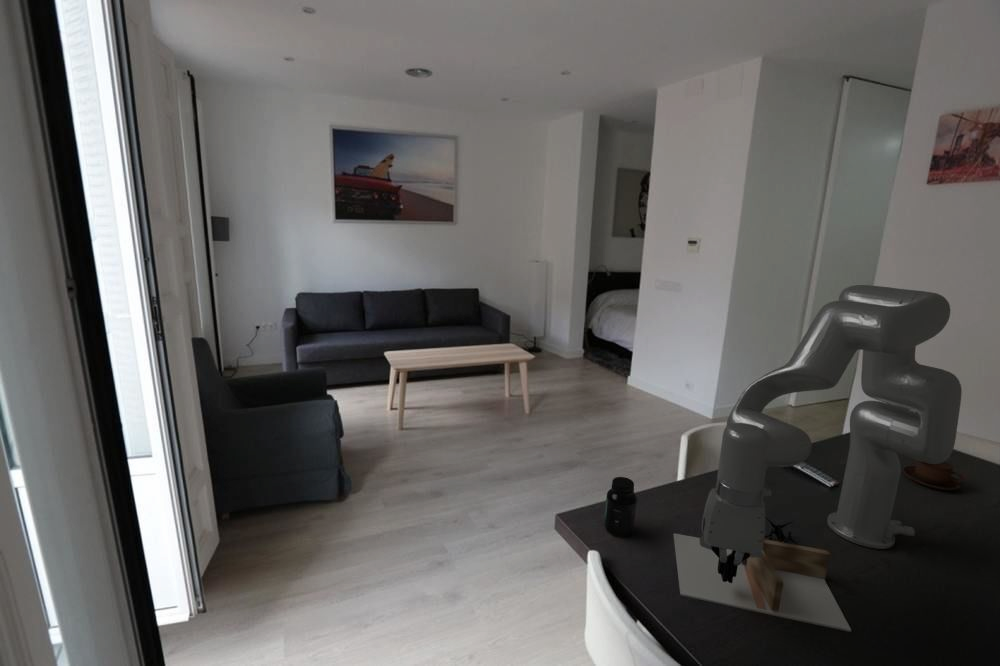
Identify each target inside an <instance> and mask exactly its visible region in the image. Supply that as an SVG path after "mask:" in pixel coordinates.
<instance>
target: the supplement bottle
mask: <svg viewBox="0 0 1000 666" xmlns="http://www.w3.org/2000/svg"><path fill="white" fill-rule="evenodd" d="M605 499H606V501H605V512H604V528H605V530H606V531H607V533H608V534H610V535H612V536H615V537H617V538H628V537H630V536H632V535H633V534H634V533H635V528H636V522H637V521H636V520H637V510H638V508H637V507H638V495H637V494H636V493H635V483H634V481H633V480H632V479H631V478H629V477H625V476H617V477H613V479H612V481H611V488H610V489H609V490H607V492H606V497H605Z"/></svg>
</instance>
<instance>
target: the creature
mask: <svg viewBox="0 0 1000 666" xmlns="http://www.w3.org/2000/svg"><path fill="white" fill-rule="evenodd" d="M765 520H767V521H768V523H770V525H771V526H772V528H771V531H770V532H769V534H767V535H765V538H769V540H771V541H772V537H773V534H774V535H775V537H776V540H777V541H779V542H782V543H787V540H786V537H785V535H784V529H783V528H785V527H786V526H788V525H790V524H792V523H793V522H794V520H793V521H792V520H791V521H790V522H786V523H785V524H774V523H773V522H772V521H771V520H770V519H769V518H768V517H766V516H765ZM792 533H793V532H791V531H788V538H789V540H790V541H791V542H792V543H794V545H799V544H798V543H797V542H796V541H794V539H793V538H792V536H791V534H792Z"/></svg>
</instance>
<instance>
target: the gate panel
mask: <svg viewBox="0 0 1000 666" xmlns="http://www.w3.org/2000/svg"><path fill="white" fill-rule="evenodd" d="M762 554H763V555H762V557H749V558H748V559H747V567H748V569H749V571H750V573H751V574H752V576H753V578H754V580H755V582H756V583H757V585H758V587H759V589H760V591H761V592H762V594H763V596H764V598H765V600H766V601H767V603H768V605H769V607H770V609H771V610H772V611H779V606H780V600H781V595H782V589H783V581H782V579H781V578H780V576H779V575H778V573H777V572H776V570H775V568H774V567H773V565H772V564H771V562H770V561H769V559H768V557H767V556H766V554H765V553H764V551H763V550H762Z"/></svg>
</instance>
